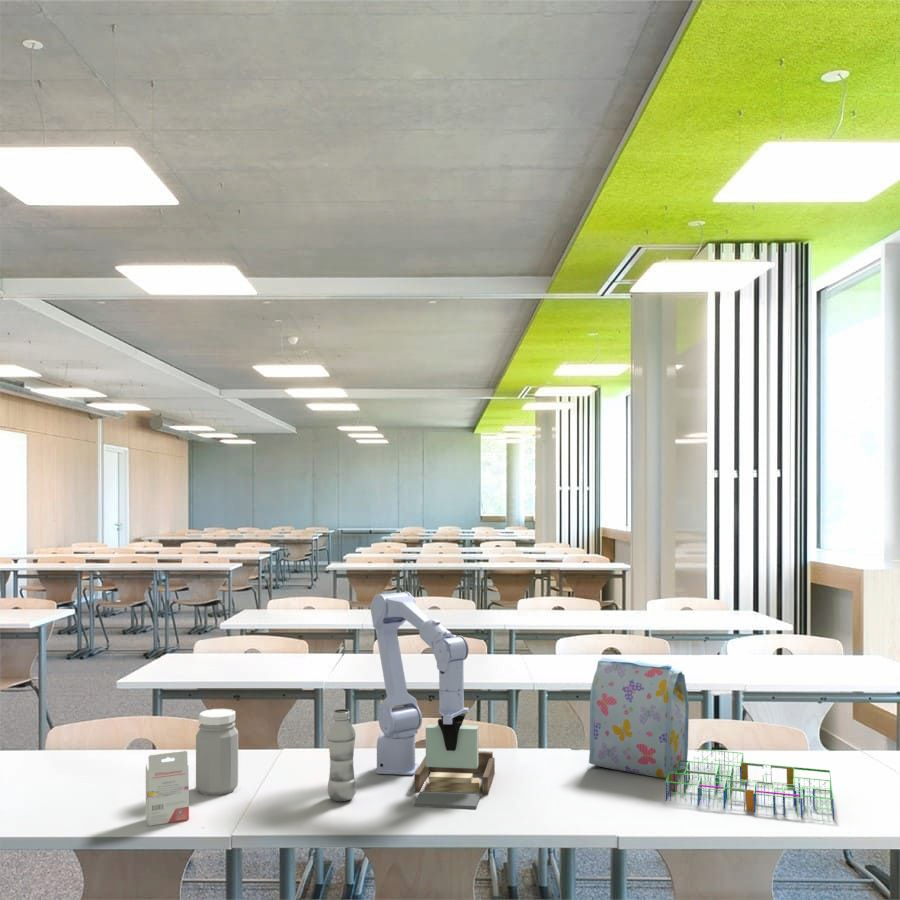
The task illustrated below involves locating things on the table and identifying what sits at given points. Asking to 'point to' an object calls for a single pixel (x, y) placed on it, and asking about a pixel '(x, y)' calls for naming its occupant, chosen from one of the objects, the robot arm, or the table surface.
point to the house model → (747, 794)
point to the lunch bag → (638, 717)
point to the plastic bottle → (341, 757)
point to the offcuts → (452, 782)
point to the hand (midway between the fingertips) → (452, 748)
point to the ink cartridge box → (167, 788)
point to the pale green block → (452, 759)
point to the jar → (217, 752)
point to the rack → (461, 771)
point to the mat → (447, 800)
